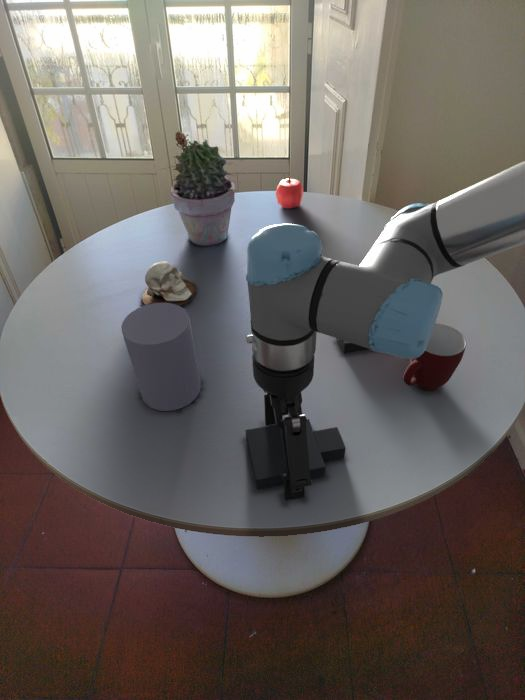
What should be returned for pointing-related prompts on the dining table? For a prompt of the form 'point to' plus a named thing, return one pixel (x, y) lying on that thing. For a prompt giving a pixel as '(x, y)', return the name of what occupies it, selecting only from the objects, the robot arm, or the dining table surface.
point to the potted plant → (202, 192)
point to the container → (162, 355)
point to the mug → (436, 359)
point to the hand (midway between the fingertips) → (283, 457)
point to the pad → (271, 455)
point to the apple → (289, 193)
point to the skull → (167, 285)
